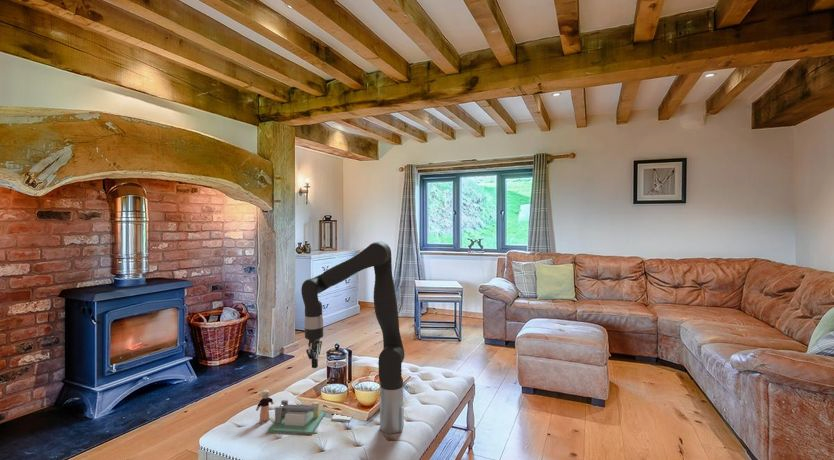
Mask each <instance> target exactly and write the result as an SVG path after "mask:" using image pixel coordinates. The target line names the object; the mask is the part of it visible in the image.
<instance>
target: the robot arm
mask: <svg viewBox="0 0 834 460" xmlns="http://www.w3.org/2000/svg"><path fill="white" fill-rule="evenodd" d="M392 265H393V264H392V249H391V247H390V246H389V244H388V243H386V242H384V241H376V242H372V243H370V244H369V245H368V246H367V247H366V248H364V249H362V251H360V252H359V253H358V254H356V255H354V256H353V257H351V258H349V259H347V260H344V261H343V262H341V263H339V264H336V265H334V266H332V267H330V268H329V269H327V270H324V271H323V273H321V274H319V275H316V276H315V277H314V276H313V277H311V278H309V279H305V280H304V282H302V284H301V290H300V291H301V298H302V303H303V304H304V338H305V339H306V340H308V344H307V347H308V349H307V348H306V350H305V351H306V355H307V357H308V359H309V360H311V368H312V369H317V368H318V366H319V355H320V354H321V349H322V344H323V341H322V340H321V339H322V338H323V337H324V318H323V303H322V302H321V301H320V300H319V296H318V295H319V294H321V293H322V292H325V291H326V290H328V289H330V288H331V287H333V286H334V287H335V285H338V284H340V283H342V282H344V281H345V280H347V279H349V278H350V277H353V275H356V274H357V273H359V272H361V271H363V270H365V269H369V268H372V267H373V270H374V285H373V286H374V287H373V306H374V315H375V316H376V317H375V318H376V320H377V322H378V325H379V326H380V330H381V333H382V339H383V341H382V344H383V348H382V350H381V352H380V353H379V356H378V379H379V428H380V431H381V432H382V433H384V434H385V433H386V434H389V435H390V434H396V433H403V429H404V425H405V423H404V422H405V421H404V417H405V415H404V414H405V405H404V404H405V402H404V378H403V377H402V375H403V374H402V363H403V361H404V359H405V349H404V345H403V341H402V337H401V331H400V320H399V311H398V300H397V295H396V289H395V288H396V287H395V283H394V277H393V266H392Z"/></svg>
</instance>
